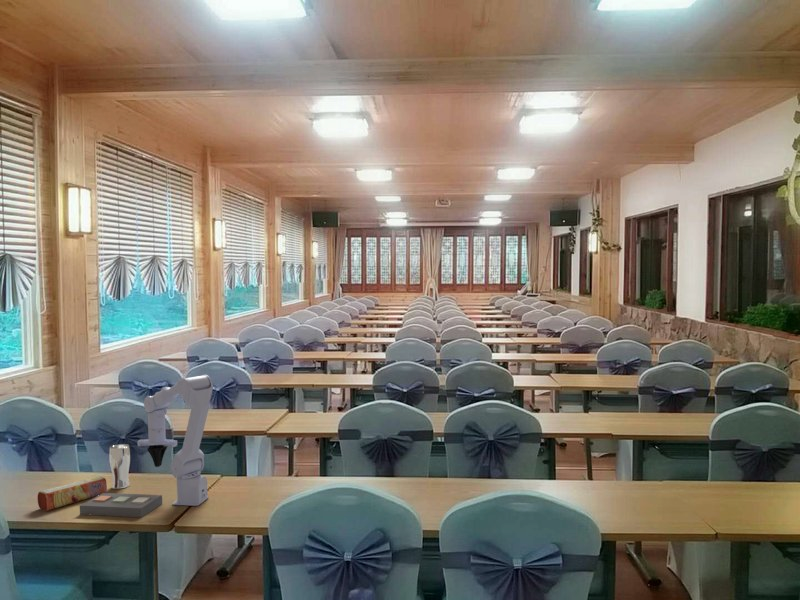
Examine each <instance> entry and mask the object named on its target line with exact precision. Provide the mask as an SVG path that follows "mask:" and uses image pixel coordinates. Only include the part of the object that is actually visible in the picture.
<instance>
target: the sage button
mask: <svg viewBox="0 0 800 600" xmlns="http://www.w3.org/2000/svg"><path fill="white" fill-rule="evenodd" d="M130 499H131V497H122V496H120V497H118V498H116V499H114V500H113V501H112V503H124V502H126V501H128V500H130Z"/></svg>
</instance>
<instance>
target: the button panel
mask: <svg viewBox="0 0 800 600" xmlns="http://www.w3.org/2000/svg"><path fill="white" fill-rule="evenodd" d="M100 496H112V498H111V499H109V500H108V501H106V502H93V500H94V499H96V498H98V497H100ZM120 496H122V497H131V499H130V500H128V501H126V502H124V503H112V501H113V500H114V499H116V498H118V497H120ZM138 497H147V498H150V500H148V501H147V502H145V503H144V504H135V503H132V501H133V500H135V499H137V498H138ZM161 505H163V495H162V494H145V493H144V494H142V493H120V492H119V493H117V492H116V493H115V492H114V493H113V492H106V493H102V494H101V495H99V496H95V497H92V499H91V498H90V499H89V500H87V501H86V502H84V503H82V504H80V505H79V515H80V516H81V515H82V516H98V515H106V516H105V517H119V516H123V517H124V518H143V517H145V516H146V515H148V514H149V513H151V512H152V511H154V510H155V509H157V508H158V507H160V506H161ZM147 513H148V514H147ZM89 514H91V515H89ZM142 516H143V517H142ZM123 517H122V518H123Z"/></svg>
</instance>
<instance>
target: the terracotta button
mask: <svg viewBox="0 0 800 600" xmlns="http://www.w3.org/2000/svg"><path fill="white" fill-rule="evenodd" d="M111 498H112V496H100V497H98V498H96V499H94V500H93V502H106V501H108V500H109V499H111Z"/></svg>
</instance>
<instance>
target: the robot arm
mask: <svg viewBox="0 0 800 600" xmlns="http://www.w3.org/2000/svg"><path fill="white" fill-rule="evenodd" d="M213 390H214V384H213V382H212V379H211V377H210V376H209V375H208V374H202V375H197V376H196V375H195V376H190V377H181V378H180V379H177V382H176V383H174V385H172V386H171V387H170V386H163V387H161V390H160V391H156V392H155V393H154V394H153V395H147V396H146V397H145V398H144V399H143V400H144V401H143V407H144V410H145V411H146V412H147V430H148V431H147V433H148V434H147V436H148V438H147V439H139V440H137V441H136V442H137V447H143V446H144V447H148V448H147V452H148V453H149V456H151V459H152V462H153V465H154V467H156V468H157V467H158V468H159V467H161V466H162V463H163V460H164V459H163V458H164V456H165V453H166V452H167V448H168V447H171V448H176V447H178V440H177V439H176V440H175V439H168V438H167V436H166V415H167V409H168V407H169V405H171V404H173V403H174V402H175V401H176V400H177V397H178V396H181V399H182V400H183V401H184V403H185V405H186V406H188V407H190V408H191V409H190V412H189V418H188V421H187V426H186V431H185V436H184V440H183V442H182V443H183V444H182V448H181V449H180V450H179V451H177V452H176V453H175V454H174V457H173V460H171V463H170V473H171V475H172V477H174V478H176V496H177V497H176V498H177V499H176V500H175V501H173V502H172V503H171V504H172V506H193V507H195V506H196V507H197V506H199V505H201V504H202V503H203V502H205V501H206V500H207V499H209V498H210V497H209V496H208V480H207V477H206V476H204V475H201V473H202V471H203V469H204V467H205V461H204V460H205V459H204V458H205V454H204V452H203V451H202V450H201V449H200V447H201V442H202V439H203V434H204V431H205V430H204V429H205V426H206V421H207V417H208V413H209V409H210V401H211V400H212V399H211V398H212V394H213Z"/></svg>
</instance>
